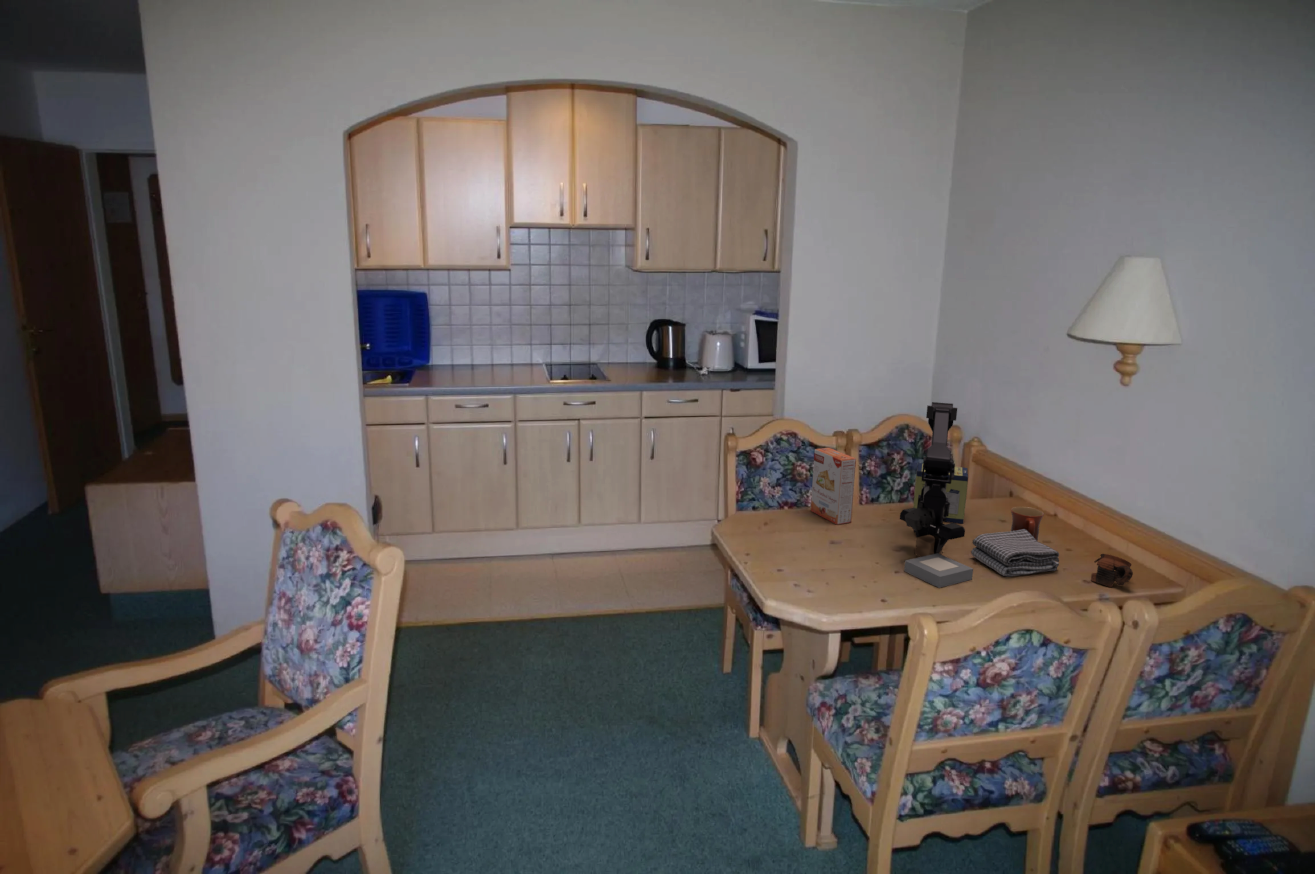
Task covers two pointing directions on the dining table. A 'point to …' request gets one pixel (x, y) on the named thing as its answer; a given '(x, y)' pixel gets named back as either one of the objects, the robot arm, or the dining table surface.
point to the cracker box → (833, 485)
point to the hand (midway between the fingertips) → (928, 552)
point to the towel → (1014, 553)
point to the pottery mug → (1112, 570)
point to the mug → (1026, 520)
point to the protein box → (948, 492)
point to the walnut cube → (925, 546)
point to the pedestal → (938, 570)
